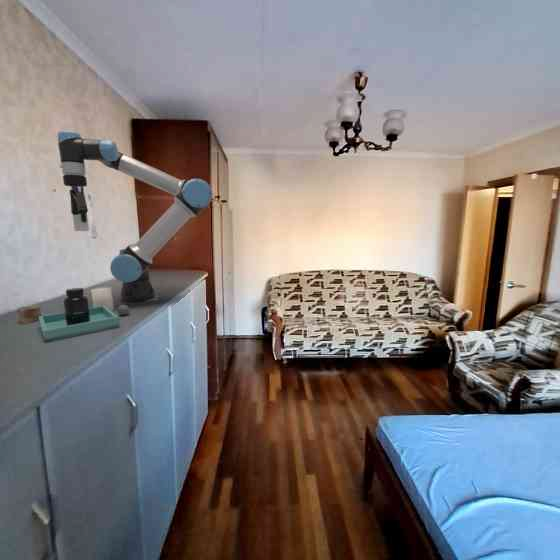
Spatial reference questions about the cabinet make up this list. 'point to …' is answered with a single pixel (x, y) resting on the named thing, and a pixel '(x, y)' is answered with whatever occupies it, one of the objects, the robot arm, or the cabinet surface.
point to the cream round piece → (102, 297)
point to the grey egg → (123, 309)
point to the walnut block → (29, 314)
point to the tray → (58, 329)
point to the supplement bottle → (76, 307)
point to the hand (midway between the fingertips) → (81, 231)
